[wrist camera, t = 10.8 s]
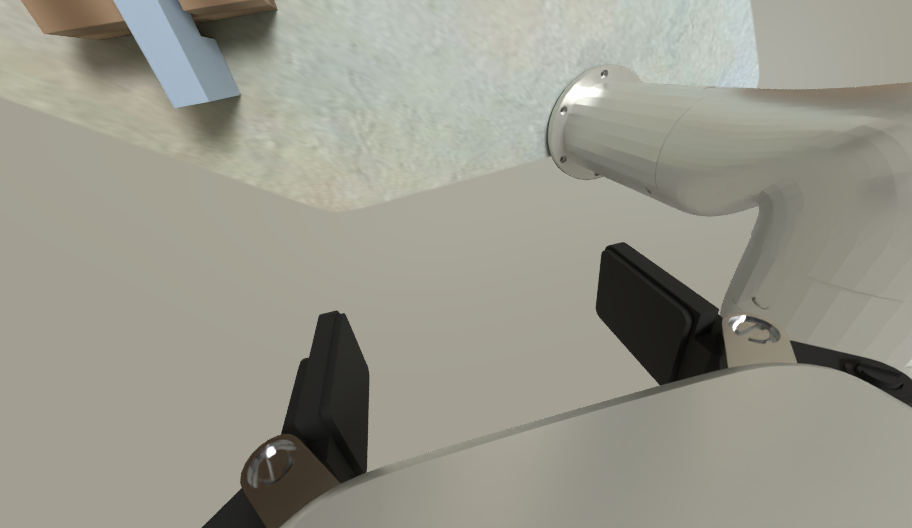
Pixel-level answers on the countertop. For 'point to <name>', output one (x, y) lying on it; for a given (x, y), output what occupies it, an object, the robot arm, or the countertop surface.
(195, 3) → the walnut slot plate
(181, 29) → the blue slot plate
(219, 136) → the countertop surface
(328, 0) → the countertop surface
